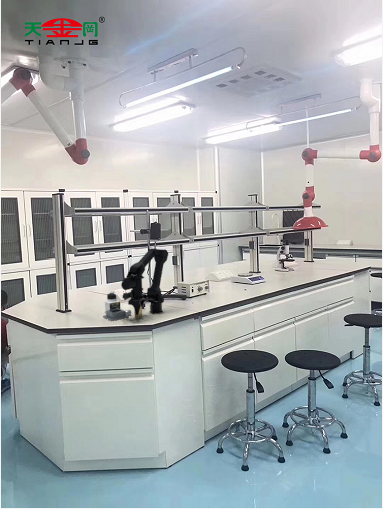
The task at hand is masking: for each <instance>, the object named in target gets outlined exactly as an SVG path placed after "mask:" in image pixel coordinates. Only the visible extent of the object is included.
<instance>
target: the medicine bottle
mask: <svg viewBox="0 0 383 509" xmlns="http://www.w3.org/2000/svg"><path fill="white" fill-rule="evenodd" d="M106 296H107V297H106V298H107V299H106V300H105V301H104V307H105V313H106V311H107V310H113V309H121V301H120V300H118V294H117V293H116V292H110V293H107V295H106Z"/></svg>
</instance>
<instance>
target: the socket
mask: <svg viewBox="0 0 383 509" xmlns="http://www.w3.org/2000/svg"><path fill="white" fill-rule="evenodd" d="M131 315H132V310H131V309H127V310H124V309H122V308H120V309H113V310H107V311H106V312H105V314H104V315H103V316H102V318H103V319H105V318H106V319H105V320H107V319H108V320H107V321H110V320H111V321H110V322H114V321H113V320H115V321H119V319H121V320H125V319H124V318H126V319H129V316H131Z"/></svg>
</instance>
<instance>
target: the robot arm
mask: <svg viewBox="0 0 383 509" xmlns="http://www.w3.org/2000/svg"><path fill="white" fill-rule="evenodd" d="M168 257H169V252H168V250H167V249H161V248H160V249H159V248H154V247H153V248H149V249H148V250H147V252H145V254H144V255H143V256H142V257H141V258H140V260H139V261H137V262H135V263H133V264H132V265H131V266H130V267H129V270H128V273H127V275H126V277H124V278H123V280H122V281H121V283H120V284H121V285H120V286H121V288H122V289H123V290H124V291H128V290H130V291H129V292H123V293H122V299H123V301H126V300H127V299H128V301H127V303H128V305H129V306H132V307H133V309H135V312H136V315H138V314H139V311H140V307H141V306H142V308H143V306H144V304H145V302H146V300H147V301H148V303H150V304H149V313H151V312H152V313H151V314H154V313H156V314H160V313H159V312H161V313H164V312H163V311H164V310H163V303H164V302H165V298H164V297H163V295H162V290H161V282H162V275H163V269H164V265H165V263H166V262H167V260H168ZM153 259H154V262H155V264H154V270H153V276H152V283H151V286H150V287H148V288H147V289H146V293H143V291H144V288H143V279H145V276H144V275H143V274H144V273H145V271H146V267H147V266H148V264H149V263H151V261H152V260H153Z"/></svg>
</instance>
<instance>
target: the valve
mask: <svg viewBox="0 0 383 509" xmlns="http://www.w3.org/2000/svg"><path fill="white" fill-rule="evenodd" d="M133 309H134V308H133ZM134 318H135V319H141V318H143V307H142V306H141V307H140V311H139V314H138V315H136V312H135V309H134Z"/></svg>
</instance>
